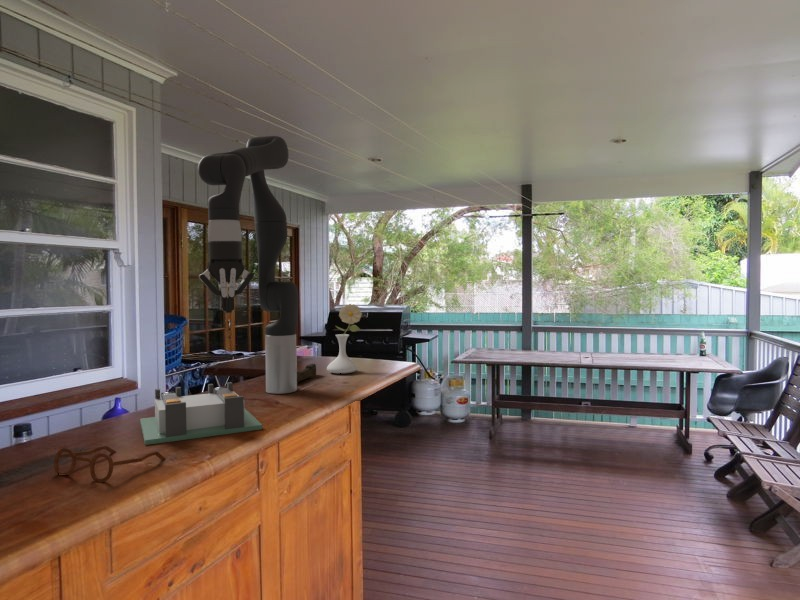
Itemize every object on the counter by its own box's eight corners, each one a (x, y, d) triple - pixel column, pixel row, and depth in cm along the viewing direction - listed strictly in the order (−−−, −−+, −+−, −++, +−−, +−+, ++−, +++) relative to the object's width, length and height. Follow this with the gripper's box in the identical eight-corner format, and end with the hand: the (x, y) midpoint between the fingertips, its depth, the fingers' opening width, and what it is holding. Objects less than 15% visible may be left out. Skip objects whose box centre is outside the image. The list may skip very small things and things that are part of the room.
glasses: (52, 476, 94) (51, 448, 94) (114, 454, 106) (114, 428, 106) (109, 486, 89) (108, 456, 89) (167, 461, 102) (167, 435, 102)
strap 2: (213, 394, 133) (213, 386, 133) (226, 393, 135) (226, 385, 135) (226, 407, 119) (226, 398, 119) (240, 405, 120) (240, 397, 120)
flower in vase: (322, 375, 190) (322, 304, 189) (332, 369, 201) (331, 303, 200) (358, 376, 188) (358, 304, 187) (366, 370, 199) (365, 303, 198)
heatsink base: (140, 422, 127) (139, 389, 127) (243, 410, 139) (242, 379, 138) (145, 445, 110) (144, 406, 110) (262, 429, 122) (261, 394, 121)
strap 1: (161, 400, 128) (160, 391, 128) (174, 398, 129) (174, 390, 129) (167, 413, 113) (167, 404, 113) (182, 412, 115) (182, 402, 115)
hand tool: (295, 386, 171) (295, 372, 171) (284, 385, 173) (284, 371, 173) (322, 376, 189) (323, 363, 189) (312, 375, 191) (312, 362, 190)
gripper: (249, 240, 134) (252, 310, 135) (193, 240, 128) (196, 313, 129) (256, 239, 127) (259, 312, 128) (197, 239, 121) (200, 315, 122)
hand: (227, 312), depth 129 cm, fingers closed
